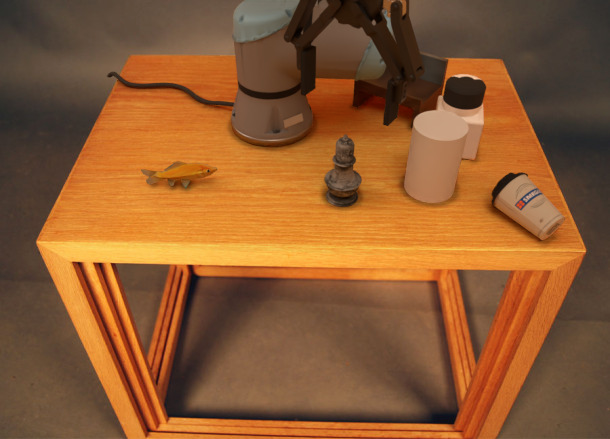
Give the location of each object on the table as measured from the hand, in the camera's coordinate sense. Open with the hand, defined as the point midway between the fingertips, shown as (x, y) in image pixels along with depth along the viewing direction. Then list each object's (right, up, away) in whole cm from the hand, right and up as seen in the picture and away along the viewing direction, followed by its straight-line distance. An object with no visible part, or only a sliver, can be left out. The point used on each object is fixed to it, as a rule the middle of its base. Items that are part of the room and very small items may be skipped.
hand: (347, 106), depth 79 cm
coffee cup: (+30, -17, +3) cm, 35 cm away
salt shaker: (0, -12, +12) cm, 17 cm away
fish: (-26, -10, +14) cm, 32 cm away
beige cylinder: (+14, -11, +14) cm, 22 cm away
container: (+21, -3, +22) cm, 30 cm away
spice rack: (+12, +6, +31) cm, 34 cm away
